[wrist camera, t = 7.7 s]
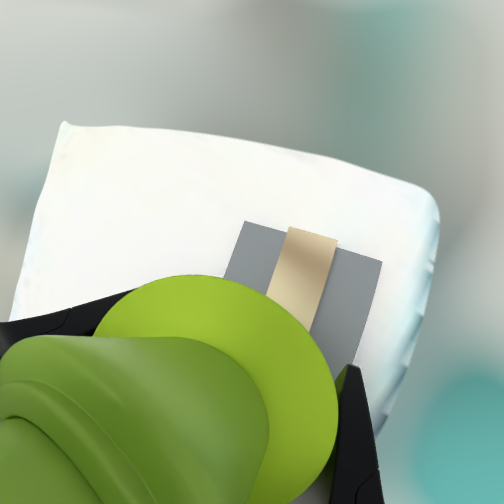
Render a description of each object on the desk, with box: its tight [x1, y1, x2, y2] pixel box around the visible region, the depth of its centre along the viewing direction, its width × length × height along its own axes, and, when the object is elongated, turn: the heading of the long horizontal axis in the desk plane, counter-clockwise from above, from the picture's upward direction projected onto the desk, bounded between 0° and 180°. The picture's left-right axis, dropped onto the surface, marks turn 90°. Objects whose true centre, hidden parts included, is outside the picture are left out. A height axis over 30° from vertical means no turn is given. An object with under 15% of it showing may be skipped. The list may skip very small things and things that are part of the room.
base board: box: [223, 221, 382, 381], centre depth 20 cm, size 20×11×1 cm, turn 160°
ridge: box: [266, 226, 338, 333], centre depth 19 cm, size 20×4×2 cm, turn 160°
